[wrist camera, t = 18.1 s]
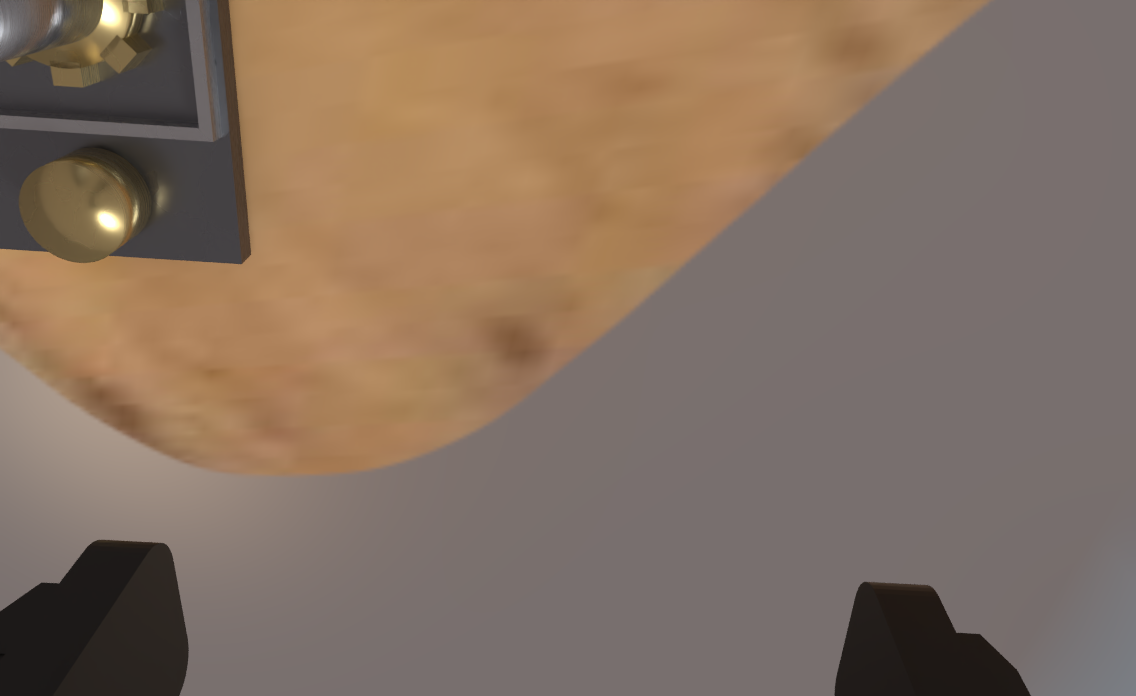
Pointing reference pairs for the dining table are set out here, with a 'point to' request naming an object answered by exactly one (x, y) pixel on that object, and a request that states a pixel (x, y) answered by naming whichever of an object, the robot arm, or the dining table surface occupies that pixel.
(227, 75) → the tray
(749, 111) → the dining table surface
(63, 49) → the gear
